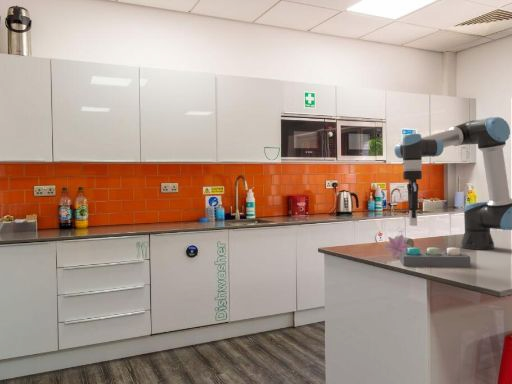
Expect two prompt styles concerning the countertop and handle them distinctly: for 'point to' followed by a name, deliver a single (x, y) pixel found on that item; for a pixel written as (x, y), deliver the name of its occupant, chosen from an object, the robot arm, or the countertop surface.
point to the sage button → (433, 251)
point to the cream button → (453, 251)
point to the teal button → (413, 251)
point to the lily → (396, 245)
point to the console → (435, 260)
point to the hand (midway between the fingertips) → (413, 225)
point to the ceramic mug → (407, 241)
